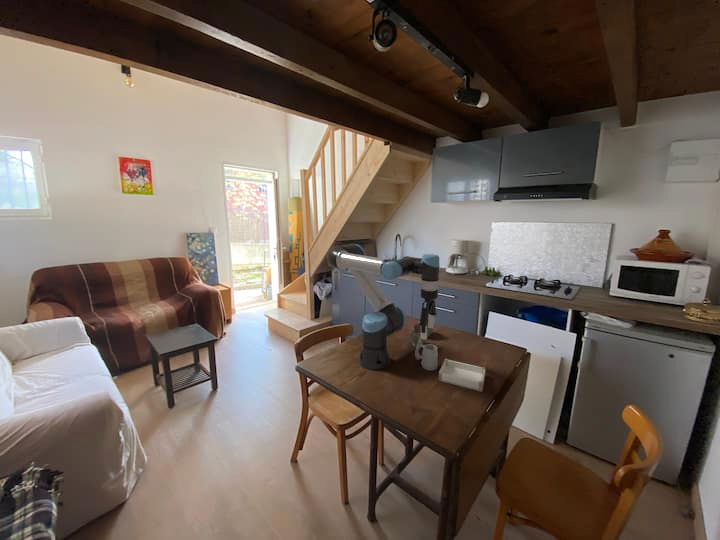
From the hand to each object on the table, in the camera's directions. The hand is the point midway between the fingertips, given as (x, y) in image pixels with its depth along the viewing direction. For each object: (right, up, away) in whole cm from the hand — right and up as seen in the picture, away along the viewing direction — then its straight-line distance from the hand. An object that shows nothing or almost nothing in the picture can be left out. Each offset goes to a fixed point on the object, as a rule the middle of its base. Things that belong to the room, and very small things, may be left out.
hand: (427, 333), depth 135 cm
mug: (0, -16, +3) cm, 16 cm away
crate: (+13, -18, -7) cm, 24 cm away
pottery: (+4, -10, +31) cm, 33 cm away
